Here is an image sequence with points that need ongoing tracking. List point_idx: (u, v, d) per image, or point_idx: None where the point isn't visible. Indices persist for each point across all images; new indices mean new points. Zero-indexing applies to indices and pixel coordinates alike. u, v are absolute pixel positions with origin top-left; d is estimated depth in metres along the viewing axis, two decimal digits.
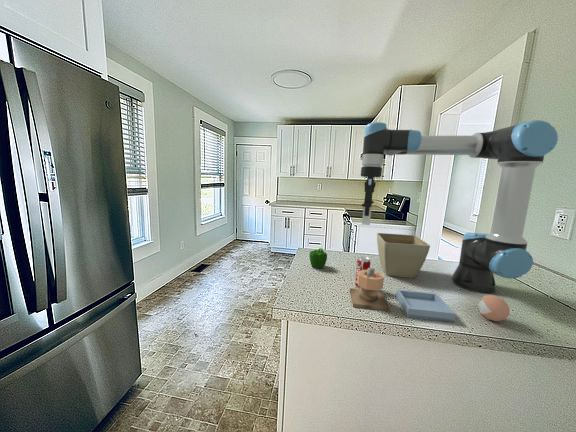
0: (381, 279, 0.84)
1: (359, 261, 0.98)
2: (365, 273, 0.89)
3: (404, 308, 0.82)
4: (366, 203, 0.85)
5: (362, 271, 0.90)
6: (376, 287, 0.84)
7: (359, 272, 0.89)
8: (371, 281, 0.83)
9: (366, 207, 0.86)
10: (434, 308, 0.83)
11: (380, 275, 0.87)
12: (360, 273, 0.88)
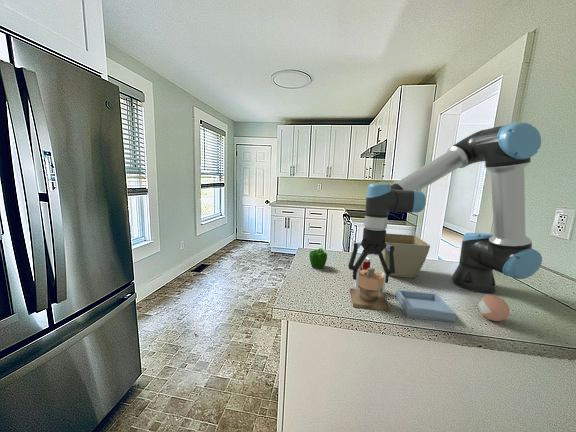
0: (381, 279, 0.84)
1: None
2: (365, 273, 0.89)
3: (404, 308, 0.82)
4: (348, 265, 0.89)
5: (362, 271, 0.90)
6: (376, 287, 0.84)
7: (359, 272, 0.89)
8: (371, 281, 0.83)
9: None
10: (434, 308, 0.83)
11: (380, 275, 0.87)
12: (360, 273, 0.88)
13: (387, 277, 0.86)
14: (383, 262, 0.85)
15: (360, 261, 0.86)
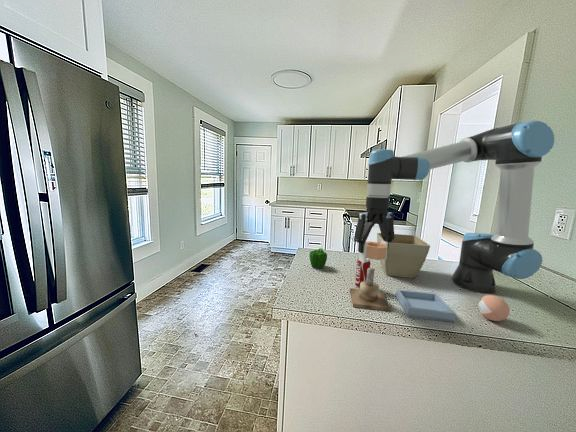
0: (386, 247, 0.84)
1: (359, 261, 0.98)
2: (367, 245, 0.87)
3: (404, 308, 0.82)
4: (355, 239, 0.83)
5: None
6: (385, 255, 0.83)
7: None
8: (381, 250, 0.82)
9: (359, 243, 0.84)
10: (434, 308, 0.83)
11: (381, 244, 0.87)
12: None
13: (388, 244, 0.87)
14: (386, 230, 0.85)
15: (367, 232, 0.82)
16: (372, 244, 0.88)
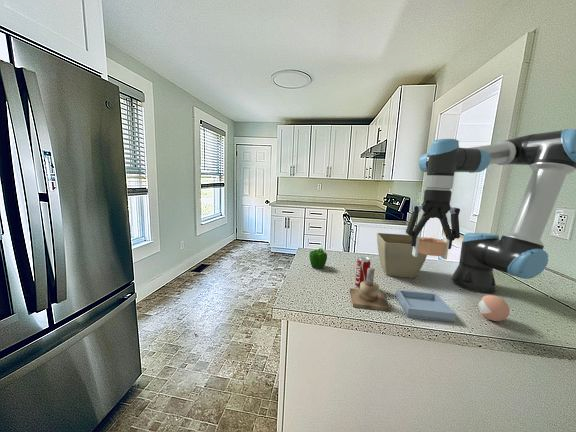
0: (445, 244, 0.78)
1: (359, 261, 0.98)
2: (424, 240, 0.83)
3: (404, 308, 0.82)
4: (406, 231, 0.82)
5: (420, 238, 0.83)
6: (440, 252, 0.77)
7: None
8: (435, 246, 0.77)
9: (411, 236, 0.82)
10: (434, 308, 0.83)
11: (442, 241, 0.80)
12: (420, 239, 0.81)
13: (450, 243, 0.80)
14: (447, 226, 0.78)
15: (421, 225, 0.80)
16: (431, 240, 0.83)
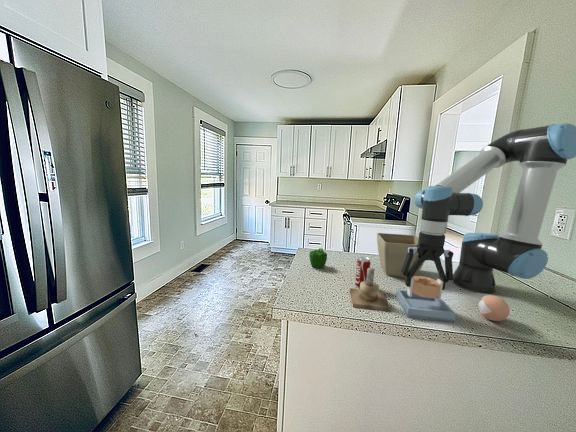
0: (439, 286, 0.80)
1: (359, 261, 0.98)
2: (419, 280, 0.85)
3: (404, 308, 0.82)
4: (401, 272, 0.84)
5: (415, 277, 0.86)
6: (434, 295, 0.79)
7: None
8: (429, 288, 0.79)
9: (406, 276, 0.84)
10: (434, 308, 0.83)
11: (436, 282, 0.83)
12: (414, 280, 0.84)
13: (444, 284, 0.82)
14: (440, 268, 0.81)
15: (415, 267, 0.82)
16: (426, 280, 0.85)
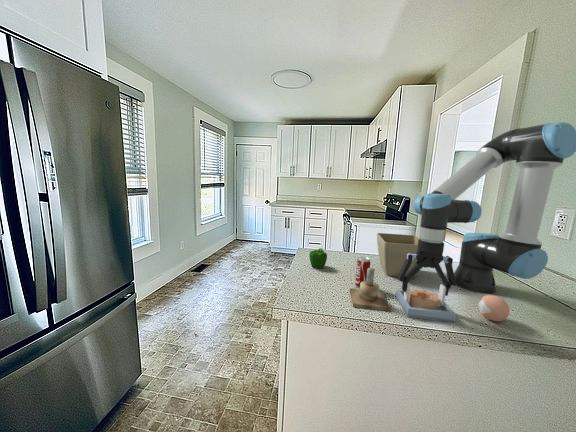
0: (437, 301, 0.81)
1: (359, 261, 0.98)
2: (417, 294, 0.86)
3: (404, 308, 0.82)
4: (398, 277, 0.85)
5: (414, 291, 0.86)
6: None
7: (411, 293, 0.85)
8: (427, 303, 0.80)
9: (402, 281, 0.85)
10: None
11: (434, 296, 0.83)
12: (413, 294, 0.84)
13: (447, 290, 0.82)
14: (442, 275, 0.81)
15: (413, 273, 0.82)
16: (424, 294, 0.86)
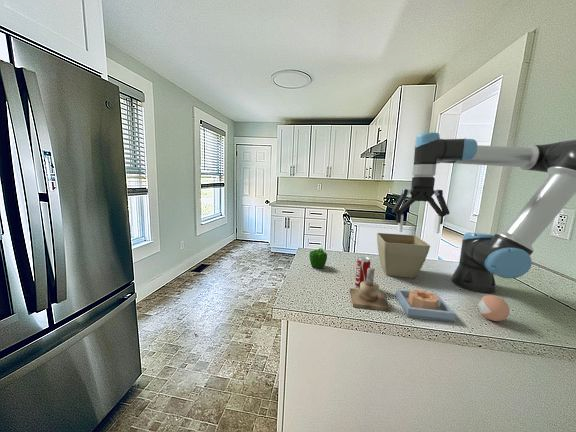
0: (437, 301, 0.81)
1: (359, 261, 0.98)
2: (417, 294, 0.86)
3: (404, 308, 0.82)
4: (392, 210, 0.94)
5: (414, 291, 0.86)
6: None
7: (411, 293, 0.85)
8: (427, 303, 0.80)
9: (396, 214, 0.94)
10: None
11: (434, 296, 0.83)
12: (413, 294, 0.84)
13: (442, 219, 0.92)
14: (436, 206, 0.91)
15: (406, 206, 0.92)
16: (424, 294, 0.86)
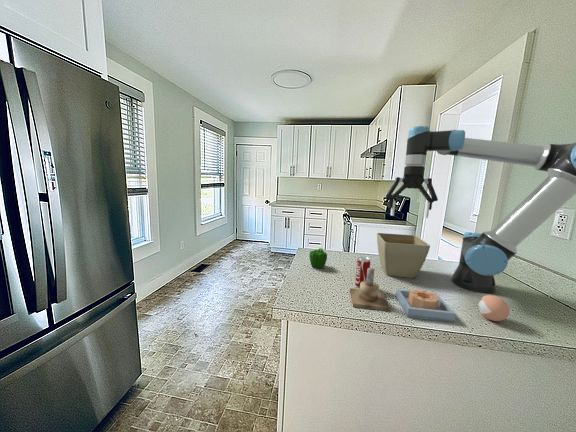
0: (437, 301, 0.81)
1: (359, 261, 0.98)
2: (417, 294, 0.86)
3: (404, 308, 0.82)
4: (385, 196, 1.05)
5: (414, 291, 0.86)
6: None
7: (411, 293, 0.85)
8: (427, 303, 0.80)
9: (389, 200, 1.05)
10: None
11: (434, 296, 0.83)
12: (413, 294, 0.84)
13: (430, 205, 1.01)
14: (425, 193, 1.01)
15: (398, 192, 1.02)
16: (424, 294, 0.86)
